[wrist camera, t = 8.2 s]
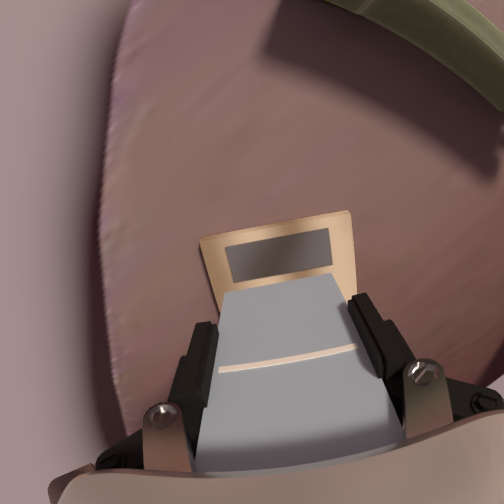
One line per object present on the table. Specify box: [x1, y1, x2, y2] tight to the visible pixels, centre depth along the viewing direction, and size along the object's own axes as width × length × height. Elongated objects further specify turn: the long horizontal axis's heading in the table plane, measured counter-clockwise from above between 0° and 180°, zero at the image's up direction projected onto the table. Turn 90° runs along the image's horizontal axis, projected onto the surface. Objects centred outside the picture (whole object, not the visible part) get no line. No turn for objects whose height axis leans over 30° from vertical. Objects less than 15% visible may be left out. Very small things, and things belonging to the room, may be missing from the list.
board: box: [199, 210, 357, 314], centre depth 24 cm, size 10×28×1 cm, turn 12°
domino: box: [195, 273, 403, 472], centre depth 10 cm, size 2×5×11 cm, turn 102°
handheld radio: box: [324, 0, 504, 112], centre depth 12 cm, size 7×3×25 cm
